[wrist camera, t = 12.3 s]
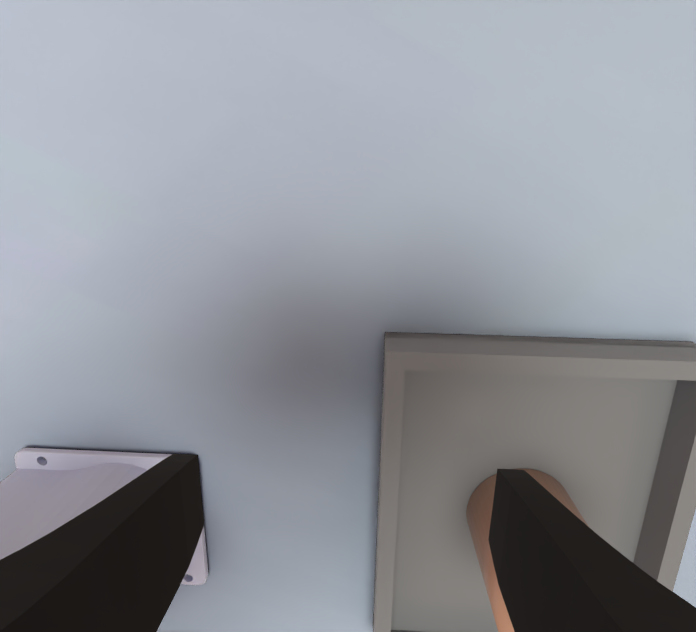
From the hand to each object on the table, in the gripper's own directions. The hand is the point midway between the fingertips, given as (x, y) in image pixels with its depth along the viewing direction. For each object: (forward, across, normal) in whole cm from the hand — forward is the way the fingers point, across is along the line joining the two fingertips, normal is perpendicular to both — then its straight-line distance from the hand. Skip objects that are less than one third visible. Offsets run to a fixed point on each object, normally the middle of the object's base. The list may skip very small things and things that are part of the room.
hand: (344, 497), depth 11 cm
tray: (+10, -8, +8) cm, 15 cm away
